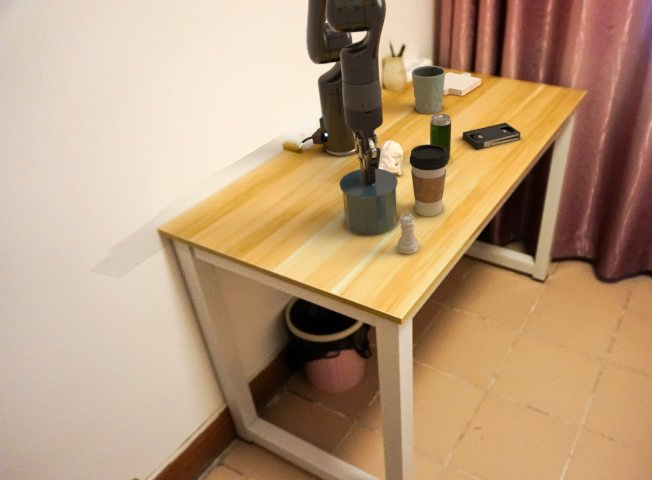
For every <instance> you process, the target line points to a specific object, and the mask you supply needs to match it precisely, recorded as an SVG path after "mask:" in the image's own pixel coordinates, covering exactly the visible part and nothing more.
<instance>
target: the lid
mask: <svg viewBox="0 0 652 480" xmlns="http://www.w3.org/2000/svg"><path fill="white" fill-rule="evenodd" d="M361 170H362V176H361ZM361 170H360V168H358V169H355V170H353V171H350V172H348V173H346V174H345V175H344V176H342V177H341V179H340V181H339V188H340V191H341V192H342V194H343V193H345V194H346V195H348V196H351V197H354V198H359V199H373V198H379V197H382V196H385V195H387V194H389V193H391V192H392V191H394V190H395V188H396V189H397V186H398V178H397V176H396V174H395V173H391V172H389V171H387V170H383V169H375V176H376V182H375V183H374V184H369V185H367V184H366V183H365V176H364V168H363V159H362V160H361Z"/></svg>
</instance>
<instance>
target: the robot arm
mask: <svg viewBox="0 0 652 480" xmlns="http://www.w3.org/2000/svg"><path fill="white" fill-rule="evenodd" d="M386 14H387V2H386V0H307V15H306V28H305V29H306V30H305V31H306V32H305V44H306V45H305V46H306V51H307V55H308V58H309V60H310V61H311V62H312V63H313V64H315V65H326V64H334V65H333V66H332V67H330V69H328V70H327V71H326V72H324V73H322V74H321V75H320V76H318V79H317V88H318V96H319V103H320V110H321V111H320V112H321V113H320V114H321V117H320V118H319V119H318V120H319V128H317V129H316V130H315V131H314V132H313V133H312V134H311V135H310V136H308V137H305V138H304V139H303V140H302V141H301V142H302V143H306V142H308V141H310V140H312V145H317V146H322V152H323V153H324V152H325V153H327V154H329V155H331V156H335V157H346V156H350V155H353V154H355V155H357V159H358V162H359V169H360V170H361V160H362V159H363V168H364V176H365V183H366V184H367V185H369V184H374V183H375V182H376V176H375V169H379V161H380V153H381V150H380V148H379V147H378V145H377V144H378V135H377V134H376V133H375V131H376V130H377V129H378V128H380V127H381V126H382V125H383V123H384V113H383V95H382V94H383V92H382V85H381V84H382V83H381V80H380V64H379V63H380V62H379V59H380V58H379V54H380V53H379V52H380V44H381V38H382V32H383V28H384V24H385V20H386ZM365 32H366V34H365V36H364V37H363V38H361V39H360V40H358V41H356V42H353V35H352V33H353V34H354V33H365ZM297 150H298V151H301V150H302V147H301V148H300V149H298V148H297ZM361 176H362V170H361Z"/></svg>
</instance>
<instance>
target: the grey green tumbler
mask: <svg viewBox="0 0 652 480" xmlns="http://www.w3.org/2000/svg"><path fill="white" fill-rule="evenodd" d="M445 74H446V70H445V69H444V67H441V66H438V65H421V66H417V67H414V68H413V69H412V71H411V78H412V79H411V80H412V87H413V98H414V108H415V111H416V112H418V113H420V114H425V115H432V114H433V115H435V114H438V113H440V112H441V111H442V110H443V102H444V95H443V88H444V79H445Z"/></svg>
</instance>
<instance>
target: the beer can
mask: <svg viewBox="0 0 652 480" xmlns="http://www.w3.org/2000/svg"><path fill="white" fill-rule="evenodd" d="M429 144H431V145H439V146H443V147H445V148H446V150H447V157H448V163H449V162H450V160H451V145H452V119H451V116H450V115H449V114H447V113H434V114H433V115H431V116H430V121H429Z"/></svg>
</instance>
